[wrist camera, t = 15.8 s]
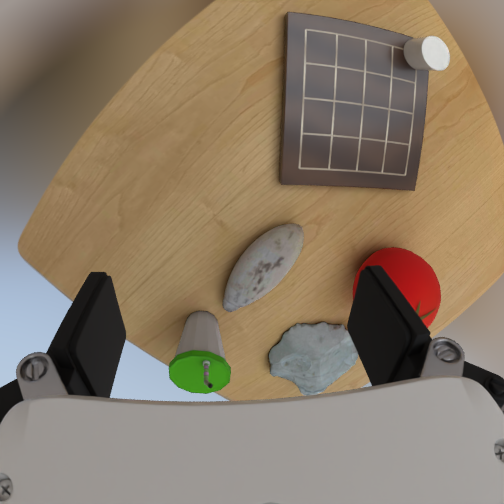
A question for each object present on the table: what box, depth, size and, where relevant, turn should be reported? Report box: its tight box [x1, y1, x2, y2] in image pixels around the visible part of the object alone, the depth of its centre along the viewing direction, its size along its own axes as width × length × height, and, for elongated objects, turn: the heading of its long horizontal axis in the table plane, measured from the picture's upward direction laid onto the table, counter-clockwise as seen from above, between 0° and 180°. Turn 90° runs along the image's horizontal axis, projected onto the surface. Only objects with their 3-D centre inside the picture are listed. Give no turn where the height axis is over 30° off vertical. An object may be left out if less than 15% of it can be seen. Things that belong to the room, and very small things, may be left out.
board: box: [279, 12, 429, 191], centre depth 32 cm, size 20×18×2 cm
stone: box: [269, 322, 358, 396], centre depth 50 cm, size 16×4×15 cm
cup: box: [169, 311, 231, 394], centre depth 39 cm, size 8×8×15 cm
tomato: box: [353, 247, 441, 328], centre depth 38 cm, size 12×12×13 cm
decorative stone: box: [223, 224, 304, 312], centre depth 40 cm, size 6×16×3 cm, turn 146°
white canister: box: [404, 36, 450, 71], centre depth 26 cm, size 4×4×4 cm
